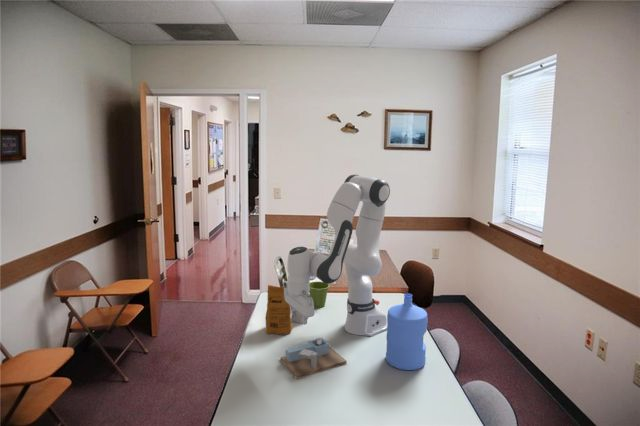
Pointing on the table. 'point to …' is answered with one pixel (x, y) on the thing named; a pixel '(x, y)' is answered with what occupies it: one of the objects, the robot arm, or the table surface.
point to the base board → (323, 363)
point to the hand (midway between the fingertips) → (298, 319)
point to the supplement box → (297, 317)
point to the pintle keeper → (311, 354)
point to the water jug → (406, 335)
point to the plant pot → (318, 293)
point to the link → (293, 352)
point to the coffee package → (277, 312)
